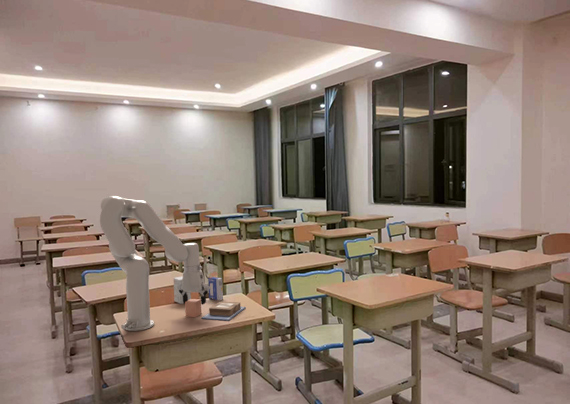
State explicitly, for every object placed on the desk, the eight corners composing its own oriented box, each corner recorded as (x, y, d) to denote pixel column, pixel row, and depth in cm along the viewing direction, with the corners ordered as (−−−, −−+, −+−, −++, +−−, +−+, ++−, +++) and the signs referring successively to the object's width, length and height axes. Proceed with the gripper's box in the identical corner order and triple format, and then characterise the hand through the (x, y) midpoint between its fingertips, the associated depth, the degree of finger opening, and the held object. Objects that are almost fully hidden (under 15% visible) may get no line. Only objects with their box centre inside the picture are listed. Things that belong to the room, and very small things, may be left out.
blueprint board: (228, 320, 186) (228, 319, 186) (201, 318, 190) (201, 317, 190) (245, 308, 205) (245, 306, 205) (220, 306, 209) (220, 305, 209)
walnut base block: (230, 315, 191) (230, 309, 191) (209, 314, 194) (209, 308, 194) (240, 308, 203) (240, 302, 202) (220, 307, 206) (220, 301, 206)
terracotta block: (195, 317, 193) (195, 302, 193) (185, 316, 195) (185, 302, 195) (201, 313, 199) (200, 299, 198) (191, 312, 200) (190, 298, 200)
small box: (191, 301, 220) (190, 278, 220) (180, 304, 216) (179, 280, 216) (184, 299, 226) (183, 275, 226) (174, 301, 222) (173, 277, 222)
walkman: (209, 298, 225) (208, 277, 224) (212, 297, 227) (211, 276, 227) (219, 300, 221) (218, 278, 220) (223, 299, 223) (222, 277, 223)
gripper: (211, 267, 197) (214, 301, 198) (180, 266, 202) (182, 300, 203) (204, 270, 190) (206, 306, 191) (172, 270, 195) (174, 305, 196)
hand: (194, 303), depth 197 cm, fingers open, 9 cm apart
